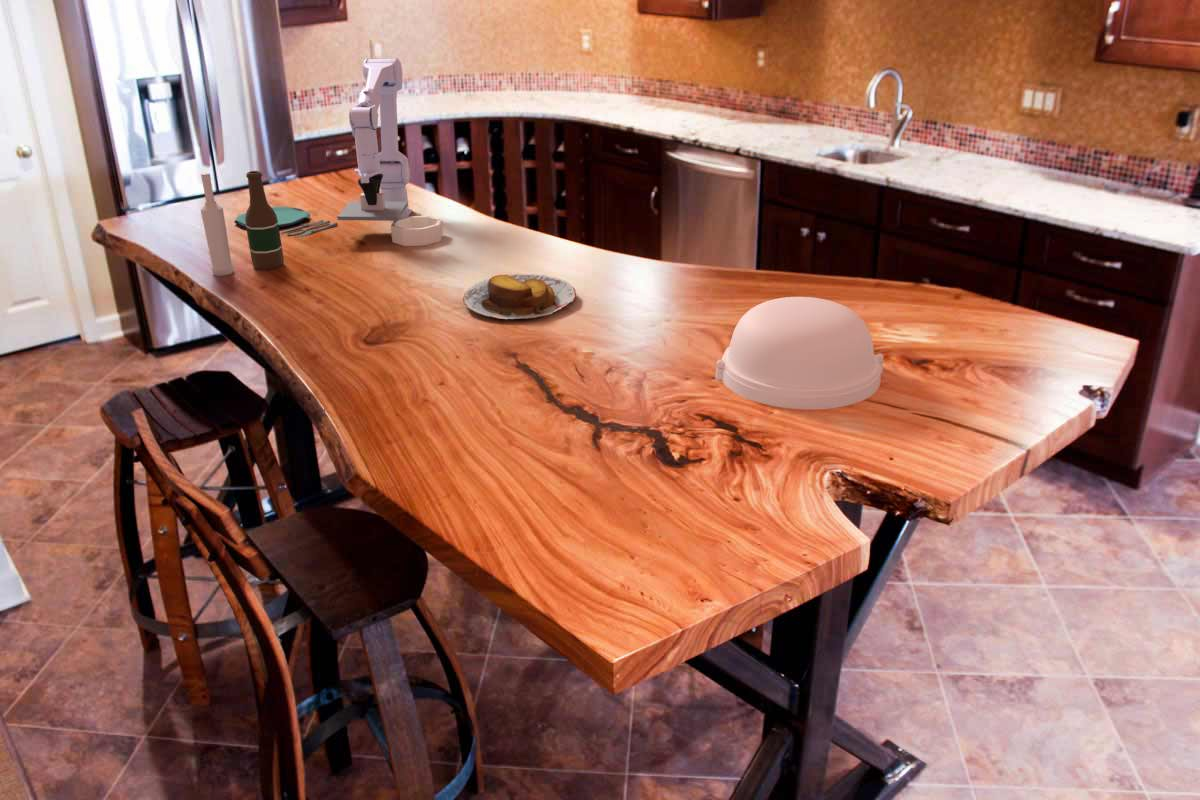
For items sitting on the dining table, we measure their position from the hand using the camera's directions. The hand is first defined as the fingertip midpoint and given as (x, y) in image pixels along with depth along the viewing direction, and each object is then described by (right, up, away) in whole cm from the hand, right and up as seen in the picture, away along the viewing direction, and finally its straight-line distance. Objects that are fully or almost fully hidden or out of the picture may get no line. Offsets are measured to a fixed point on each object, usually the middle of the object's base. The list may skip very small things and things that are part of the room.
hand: (373, 203), depth 286 cm
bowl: (+12, -9, +2) cm, 15 cm away
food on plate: (+43, -32, -46) cm, 71 cm away
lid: (0, -2, +1) cm, 3 cm away
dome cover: (+99, -49, -86) cm, 140 cm away
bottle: (-33, -22, -22) cm, 45 cm away
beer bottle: (-23, -19, -17) cm, 35 cm away
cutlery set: (-30, -3, +18) cm, 35 cm away
